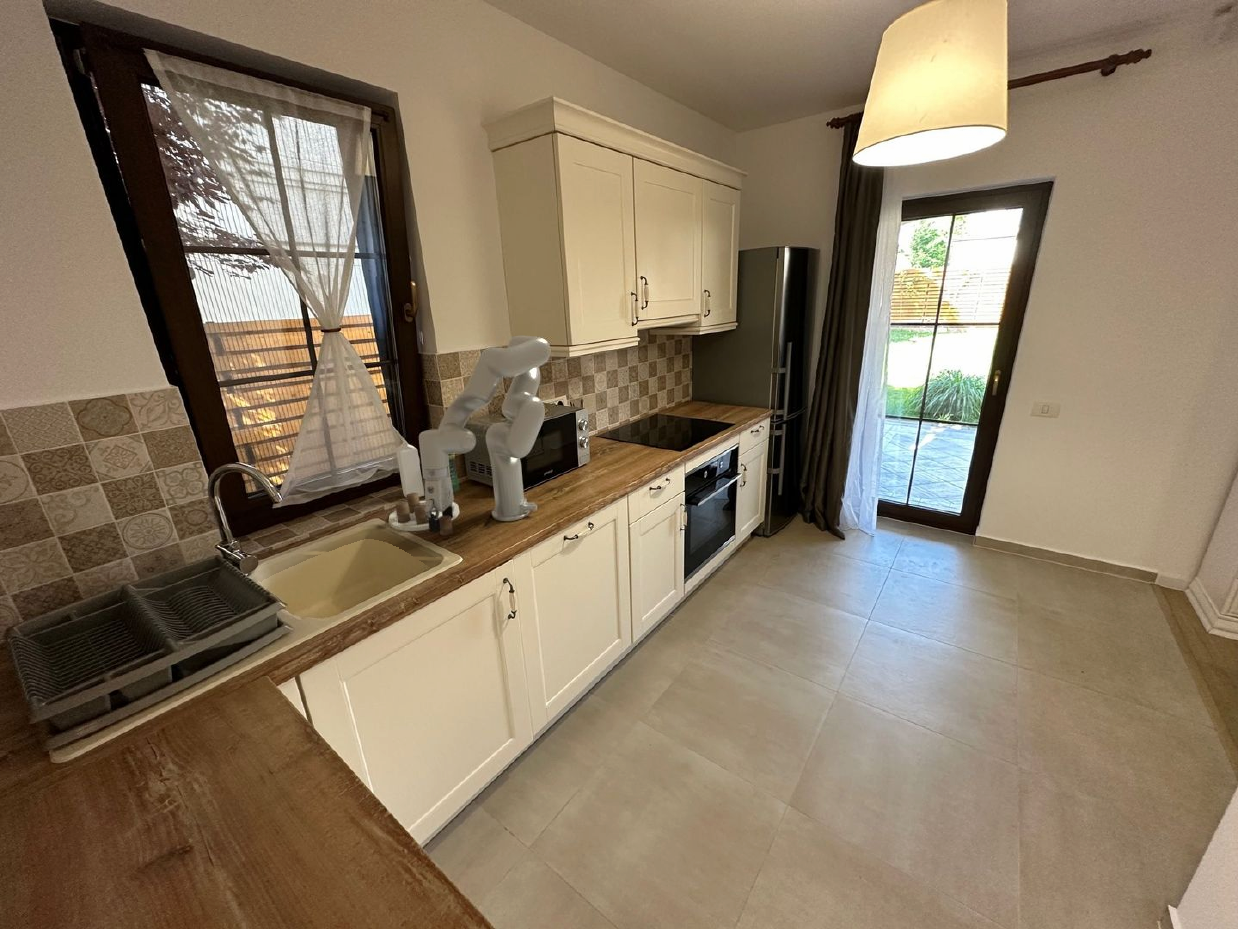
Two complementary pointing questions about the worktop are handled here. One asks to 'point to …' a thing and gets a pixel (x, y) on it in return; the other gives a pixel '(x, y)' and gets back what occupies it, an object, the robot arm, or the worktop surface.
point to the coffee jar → (453, 472)
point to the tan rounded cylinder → (445, 525)
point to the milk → (409, 469)
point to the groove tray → (412, 523)
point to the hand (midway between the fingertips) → (441, 524)
